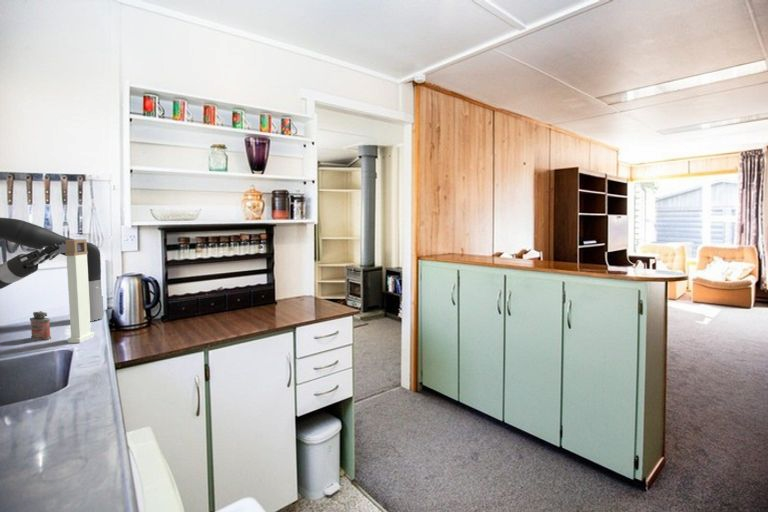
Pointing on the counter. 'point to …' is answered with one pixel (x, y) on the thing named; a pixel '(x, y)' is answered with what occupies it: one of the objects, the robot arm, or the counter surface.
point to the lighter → (40, 326)
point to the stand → (78, 291)
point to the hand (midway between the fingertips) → (60, 245)
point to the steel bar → (64, 248)
